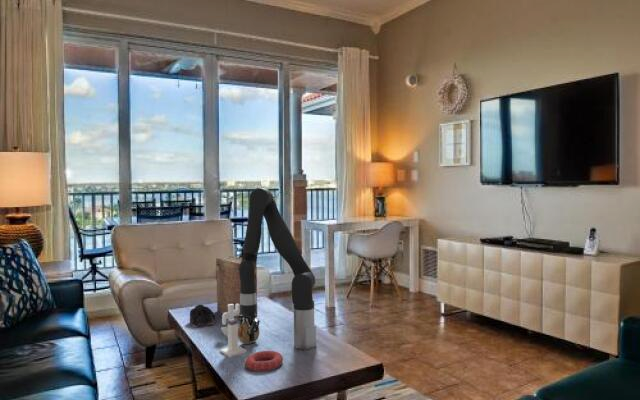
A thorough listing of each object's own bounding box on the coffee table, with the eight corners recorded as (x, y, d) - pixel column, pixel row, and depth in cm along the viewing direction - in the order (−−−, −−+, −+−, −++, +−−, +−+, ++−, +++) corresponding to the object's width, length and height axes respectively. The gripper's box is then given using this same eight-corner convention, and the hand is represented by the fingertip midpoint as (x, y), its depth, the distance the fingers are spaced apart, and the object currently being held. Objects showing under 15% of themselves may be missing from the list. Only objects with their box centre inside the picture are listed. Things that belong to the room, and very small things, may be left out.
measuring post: (246, 352, 202) (245, 320, 201) (230, 357, 197) (229, 324, 196) (236, 347, 208) (235, 316, 207) (220, 351, 202) (219, 320, 202)
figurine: (218, 335, 223) (218, 304, 222) (234, 330, 230) (234, 300, 229) (227, 339, 218) (227, 307, 217) (244, 334, 225) (243, 303, 224)
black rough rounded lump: (211, 329, 235) (213, 309, 235) (184, 327, 235) (186, 307, 235) (217, 322, 249) (219, 303, 249) (191, 320, 249) (193, 301, 249)
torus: (268, 354, 200) (268, 346, 199) (290, 364, 190) (290, 355, 190) (237, 366, 188) (237, 357, 188) (259, 376, 178) (259, 367, 178)
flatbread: (241, 346, 208) (240, 324, 207) (236, 344, 211) (236, 322, 210) (261, 341, 214) (260, 320, 214) (256, 339, 217) (256, 318, 217)
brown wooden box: (217, 310, 264) (215, 258, 262) (230, 307, 271) (229, 256, 269) (243, 320, 246) (242, 264, 244) (257, 316, 253) (256, 261, 251)
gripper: (264, 303, 209) (265, 341, 210) (246, 297, 219) (247, 333, 220) (250, 307, 204) (251, 345, 205) (232, 301, 214) (233, 337, 215)
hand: (249, 339), depth 212 cm, fingers closed on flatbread, 3 cm apart
